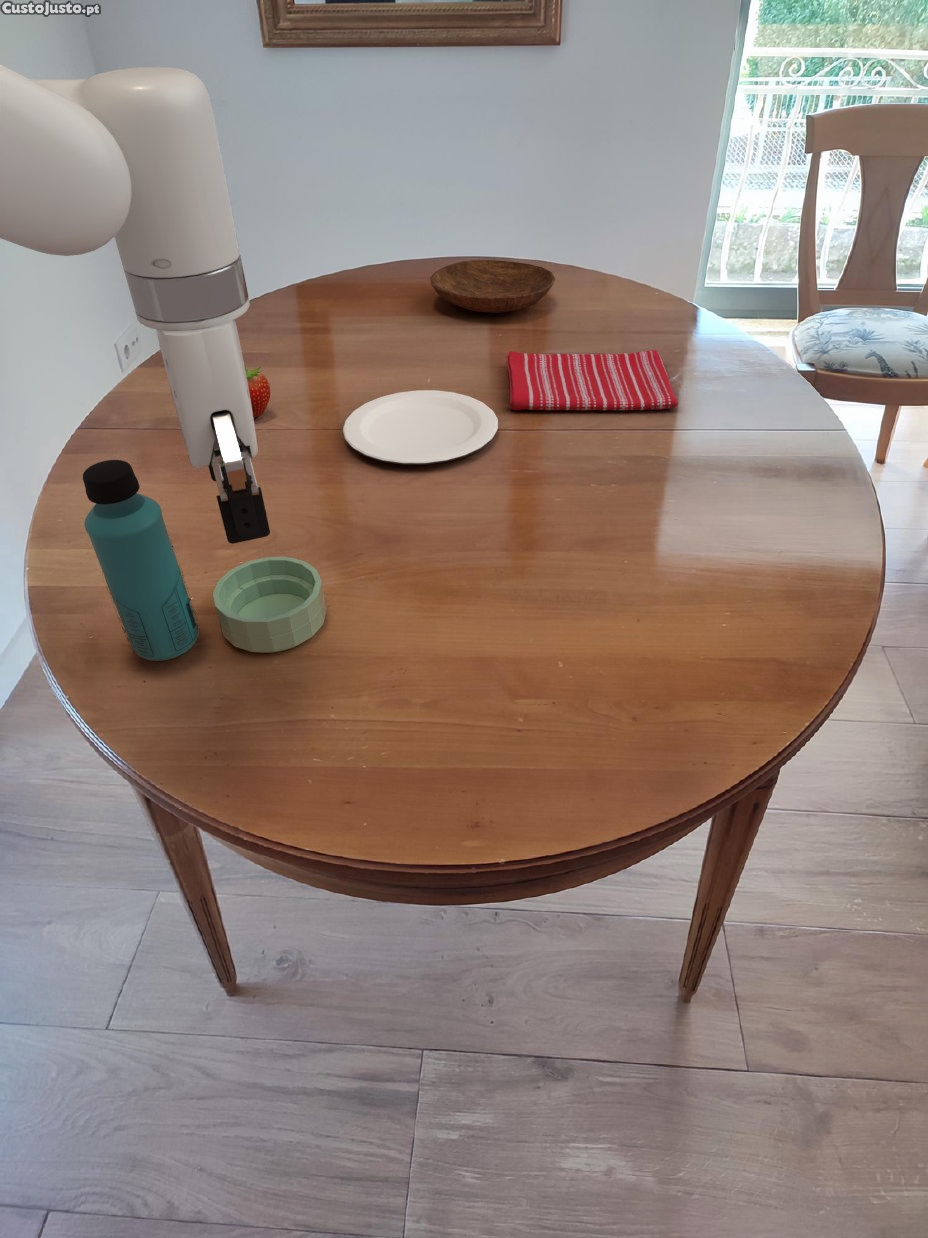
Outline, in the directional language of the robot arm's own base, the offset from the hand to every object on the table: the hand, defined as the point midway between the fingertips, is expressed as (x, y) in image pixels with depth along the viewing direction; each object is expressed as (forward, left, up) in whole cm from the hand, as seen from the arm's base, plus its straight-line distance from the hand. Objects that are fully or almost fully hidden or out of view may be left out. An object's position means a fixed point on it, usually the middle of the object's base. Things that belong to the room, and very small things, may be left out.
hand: (239, 505), depth 67 cm
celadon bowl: (+1, +6, -18) cm, 19 cm away
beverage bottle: (-9, +6, -18) cm, 21 cm away
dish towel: (+54, +42, -18) cm, 71 cm away
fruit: (+7, +52, -18) cm, 56 cm away
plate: (+27, +38, -18) cm, 50 cm away
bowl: (+54, +79, -18) cm, 98 cm away
